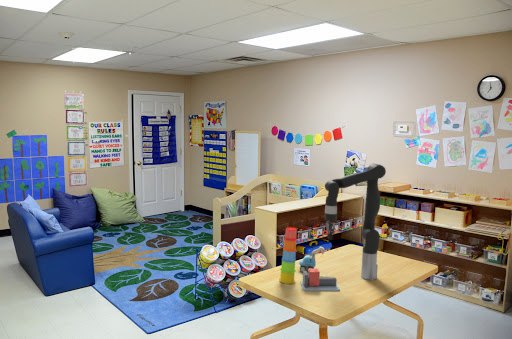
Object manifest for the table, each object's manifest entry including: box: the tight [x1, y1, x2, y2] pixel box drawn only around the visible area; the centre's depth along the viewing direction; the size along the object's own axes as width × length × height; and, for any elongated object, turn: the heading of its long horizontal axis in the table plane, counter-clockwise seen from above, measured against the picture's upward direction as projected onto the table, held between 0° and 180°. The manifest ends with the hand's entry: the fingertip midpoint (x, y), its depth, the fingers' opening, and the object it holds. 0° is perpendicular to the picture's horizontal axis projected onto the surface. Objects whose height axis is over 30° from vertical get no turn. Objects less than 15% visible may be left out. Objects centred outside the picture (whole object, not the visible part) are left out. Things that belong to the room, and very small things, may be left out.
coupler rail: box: [302, 270, 337, 288], centre depth 245 cm, size 20×7×8 cm, turn 93°
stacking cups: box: [278, 226, 298, 285], centre depth 251 cm, size 10×10×35 cm
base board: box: [299, 281, 341, 292], centre depth 245 cm, size 22×12×1 cm, turn 93°
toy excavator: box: [298, 246, 325, 273], centre depth 272 cm, size 9×17×17 cm, turn 78°
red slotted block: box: [307, 268, 320, 286], centre depth 244 cm, size 6×6×9 cm
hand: (329, 238), depth 255 cm, fingers open, 2 cm apart
